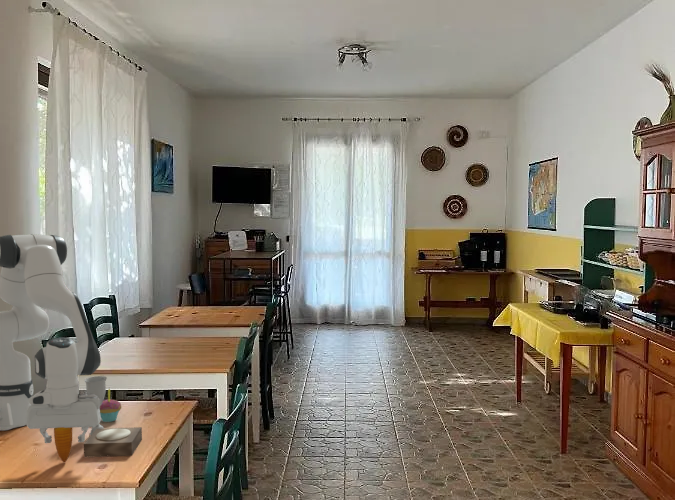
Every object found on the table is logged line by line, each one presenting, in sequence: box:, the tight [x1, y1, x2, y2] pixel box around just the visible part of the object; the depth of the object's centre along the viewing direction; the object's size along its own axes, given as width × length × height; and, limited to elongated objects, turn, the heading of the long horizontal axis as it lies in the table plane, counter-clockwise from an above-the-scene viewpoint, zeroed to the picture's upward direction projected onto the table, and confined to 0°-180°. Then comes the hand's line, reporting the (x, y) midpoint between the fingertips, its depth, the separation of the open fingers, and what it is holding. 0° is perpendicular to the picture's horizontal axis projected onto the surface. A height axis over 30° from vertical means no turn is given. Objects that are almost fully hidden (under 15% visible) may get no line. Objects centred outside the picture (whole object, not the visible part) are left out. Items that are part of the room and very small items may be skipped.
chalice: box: [84, 375, 108, 436], centre depth 227 cm, size 7×7×18 cm
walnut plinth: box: [83, 426, 143, 458], centre depth 213 cm, size 14×14×4 cm
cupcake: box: [99, 387, 122, 423], centre depth 241 cm, size 9×8×12 cm
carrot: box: [53, 427, 73, 463], centre depth 201 cm, size 5×5×15 cm
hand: (64, 442), depth 201 cm, fingers open, 8 cm apart
